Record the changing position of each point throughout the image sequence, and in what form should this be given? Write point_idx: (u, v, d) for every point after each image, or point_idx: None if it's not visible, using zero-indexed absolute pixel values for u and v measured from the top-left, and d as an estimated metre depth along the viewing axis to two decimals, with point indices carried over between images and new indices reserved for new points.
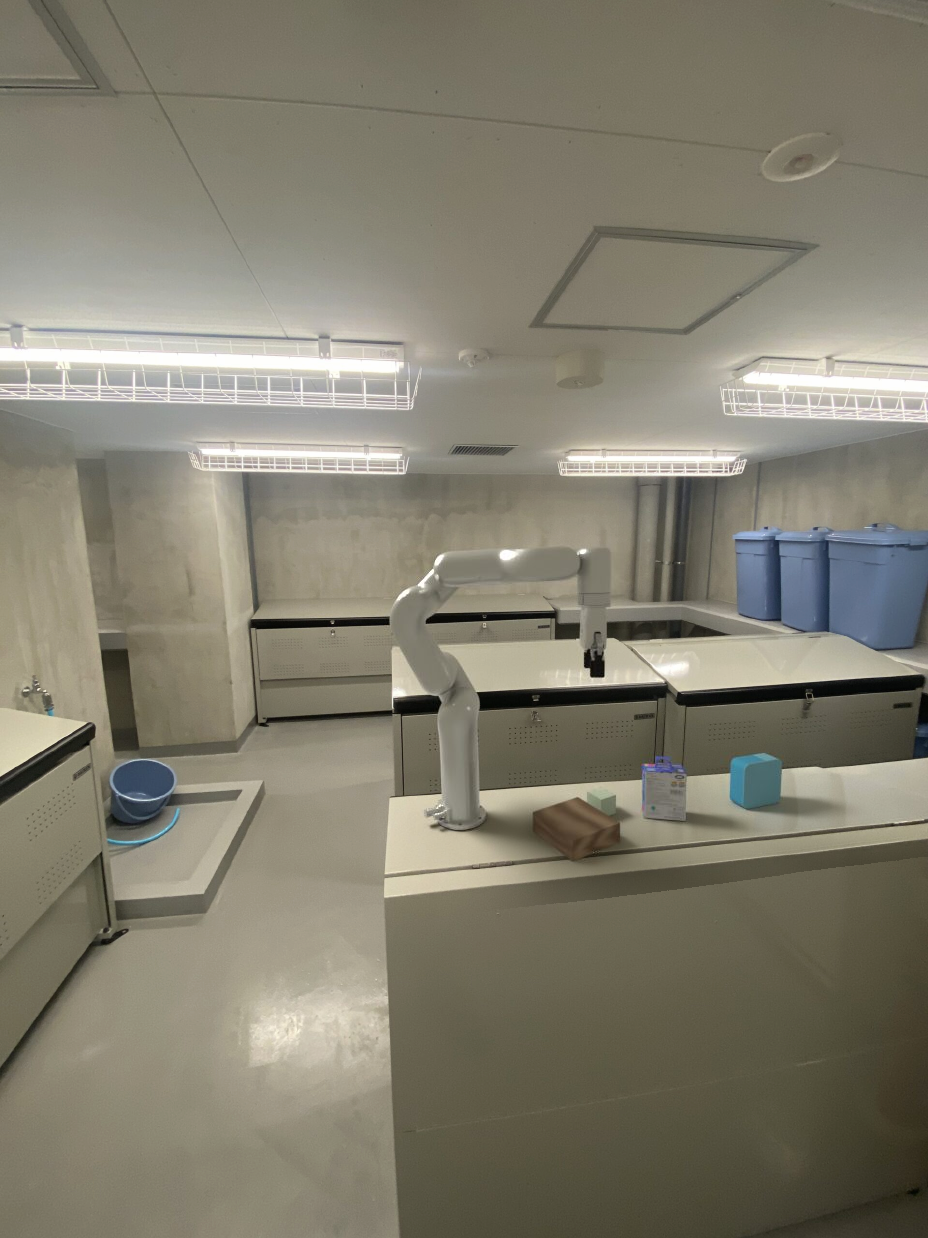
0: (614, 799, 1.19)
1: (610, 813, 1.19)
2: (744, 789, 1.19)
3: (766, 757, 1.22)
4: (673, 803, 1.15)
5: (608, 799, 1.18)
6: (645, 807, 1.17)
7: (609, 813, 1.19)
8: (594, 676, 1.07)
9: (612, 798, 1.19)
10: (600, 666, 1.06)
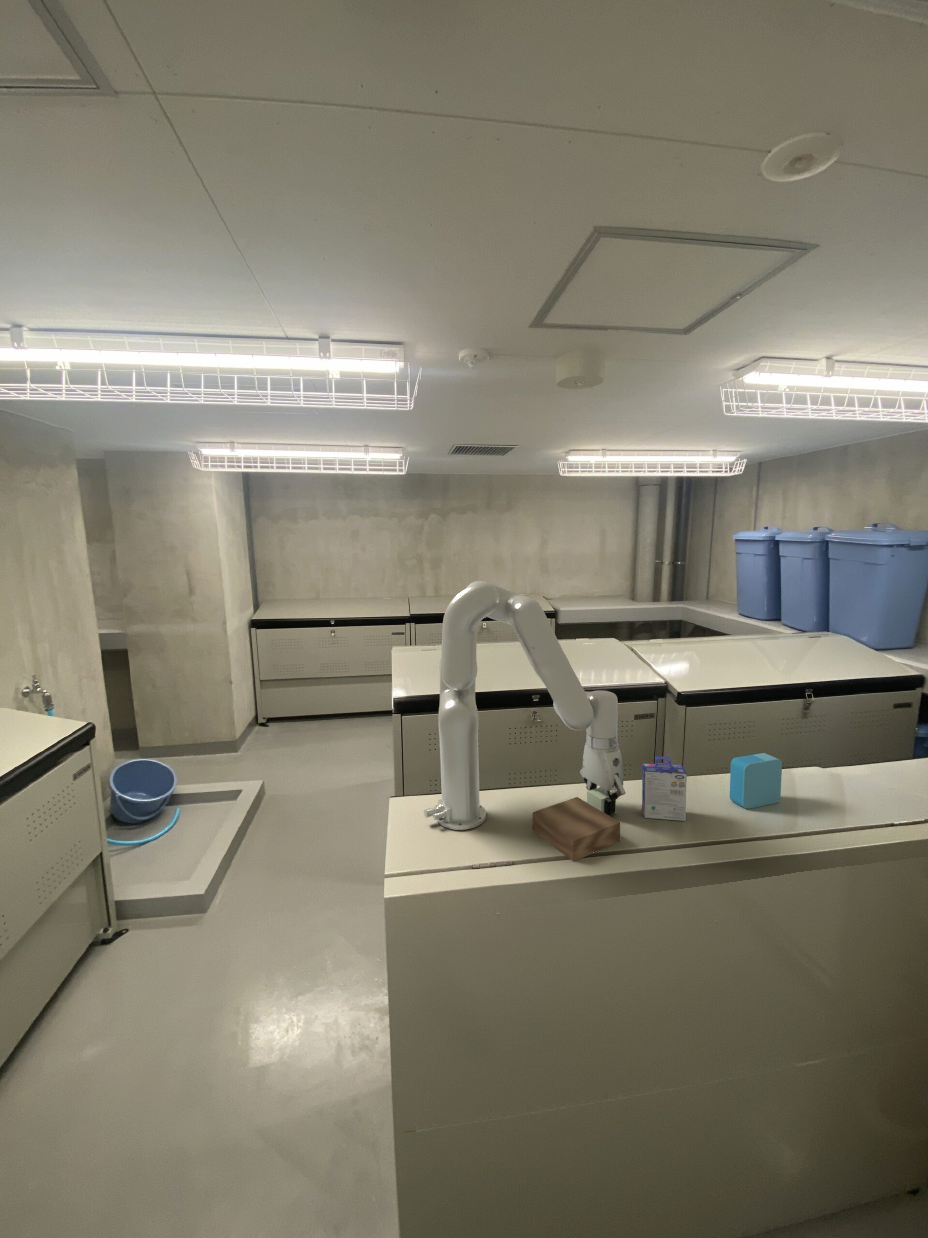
0: None
1: None
2: (744, 789, 1.19)
3: (766, 757, 1.22)
4: (673, 803, 1.15)
5: None
6: (645, 807, 1.17)
7: None
8: None
9: None
10: None
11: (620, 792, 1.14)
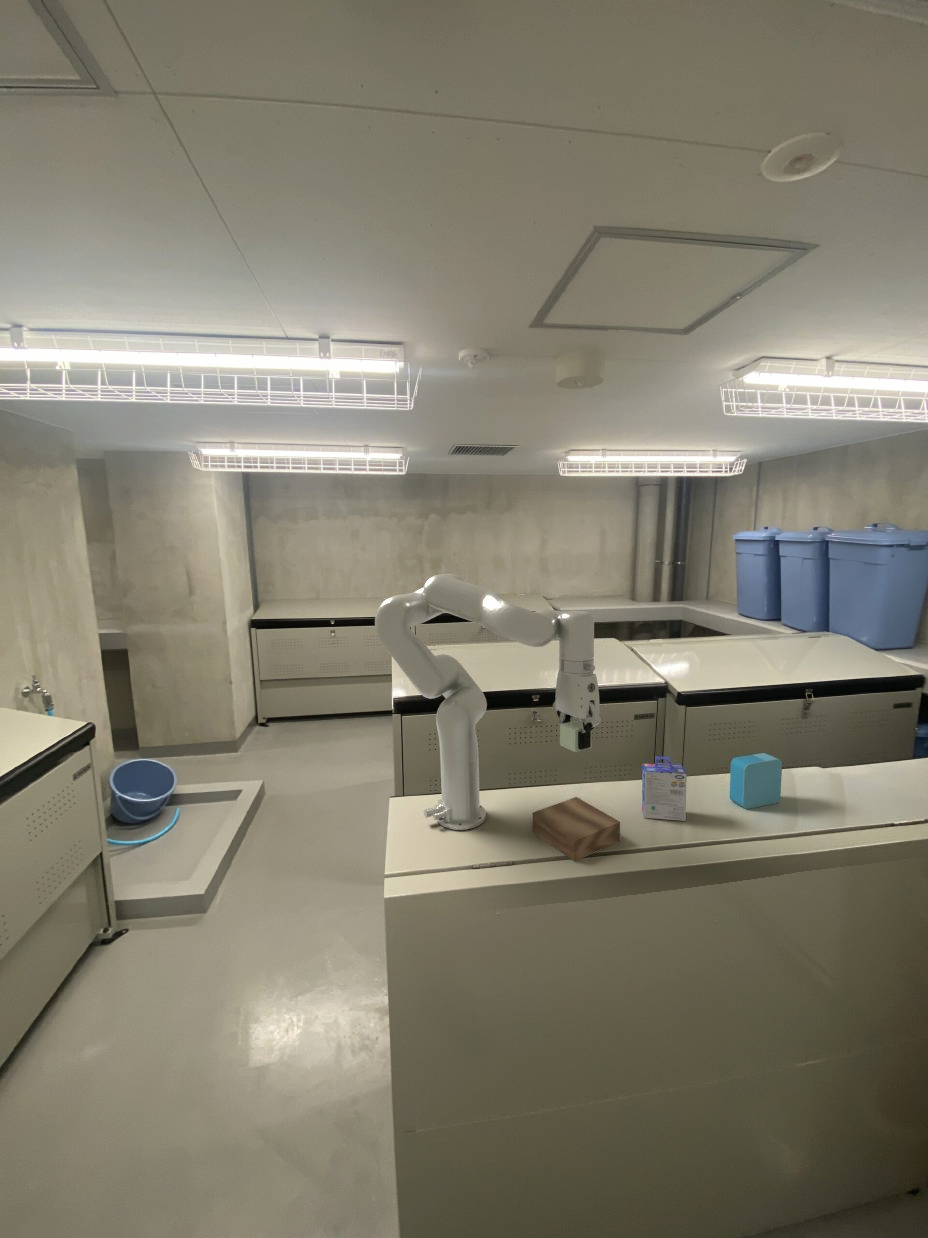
0: None
1: None
2: (744, 789, 1.19)
3: (766, 757, 1.22)
4: (673, 803, 1.15)
5: None
6: (645, 807, 1.17)
7: None
8: None
9: None
10: None
11: (595, 720, 1.01)
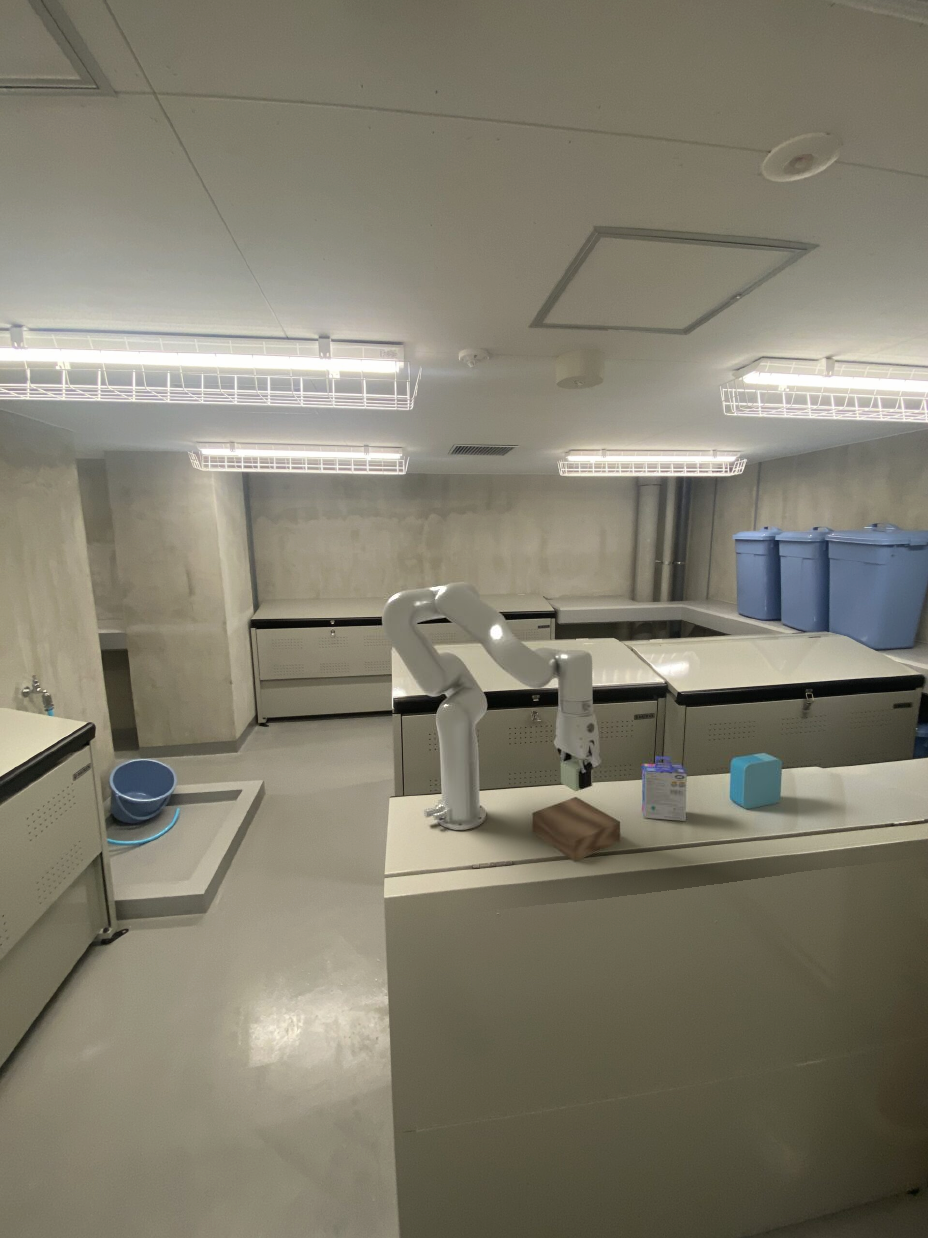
0: None
1: None
2: (744, 789, 1.19)
3: (766, 757, 1.22)
4: (673, 803, 1.15)
5: None
6: (645, 807, 1.17)
7: None
8: None
9: None
10: None
11: (595, 761, 1.02)
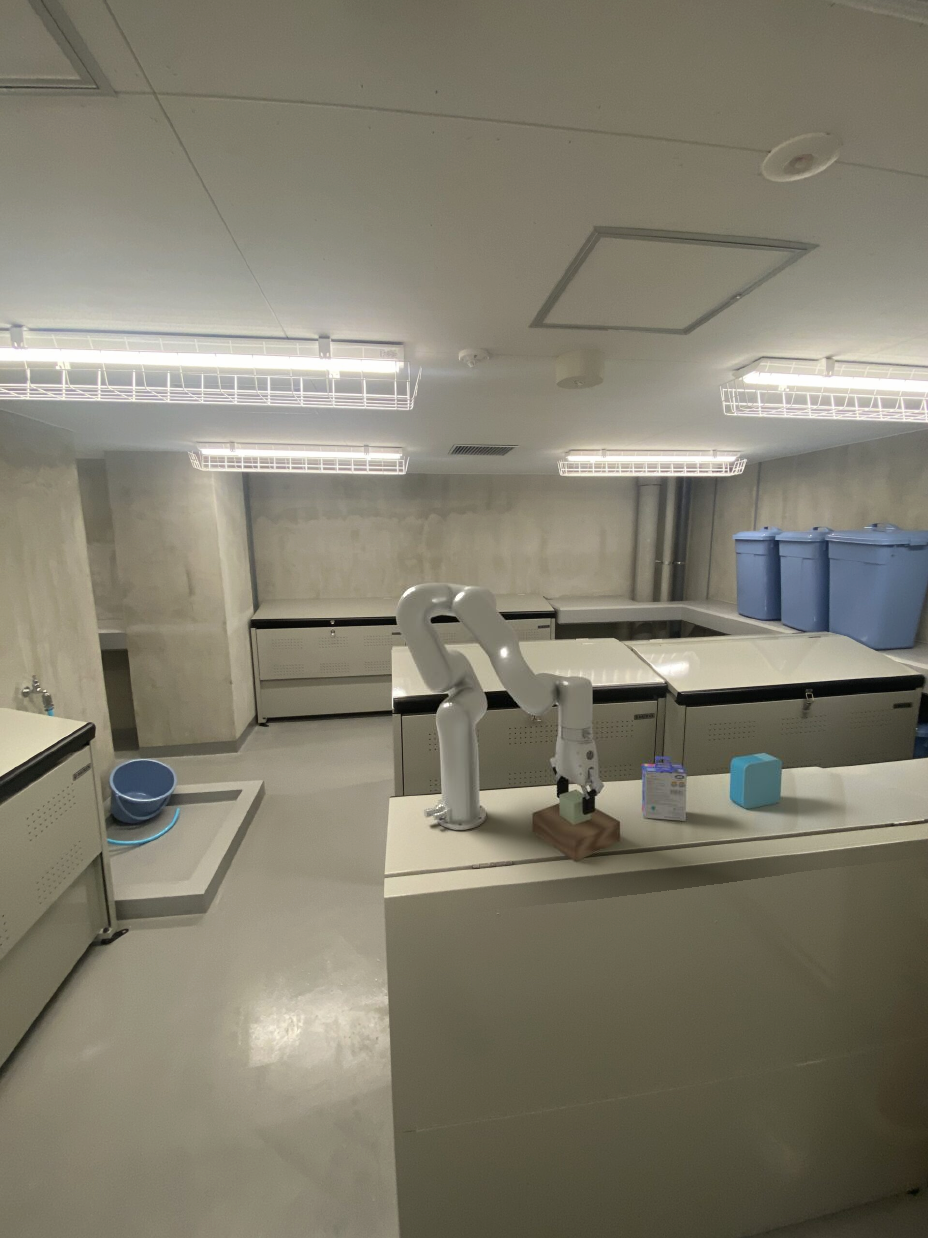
0: None
1: (584, 818, 1.08)
2: (744, 789, 1.19)
3: (766, 757, 1.22)
4: (673, 803, 1.15)
5: (581, 804, 1.07)
6: (645, 807, 1.17)
7: (583, 818, 1.08)
8: None
9: None
10: None
11: (597, 785, 1.01)
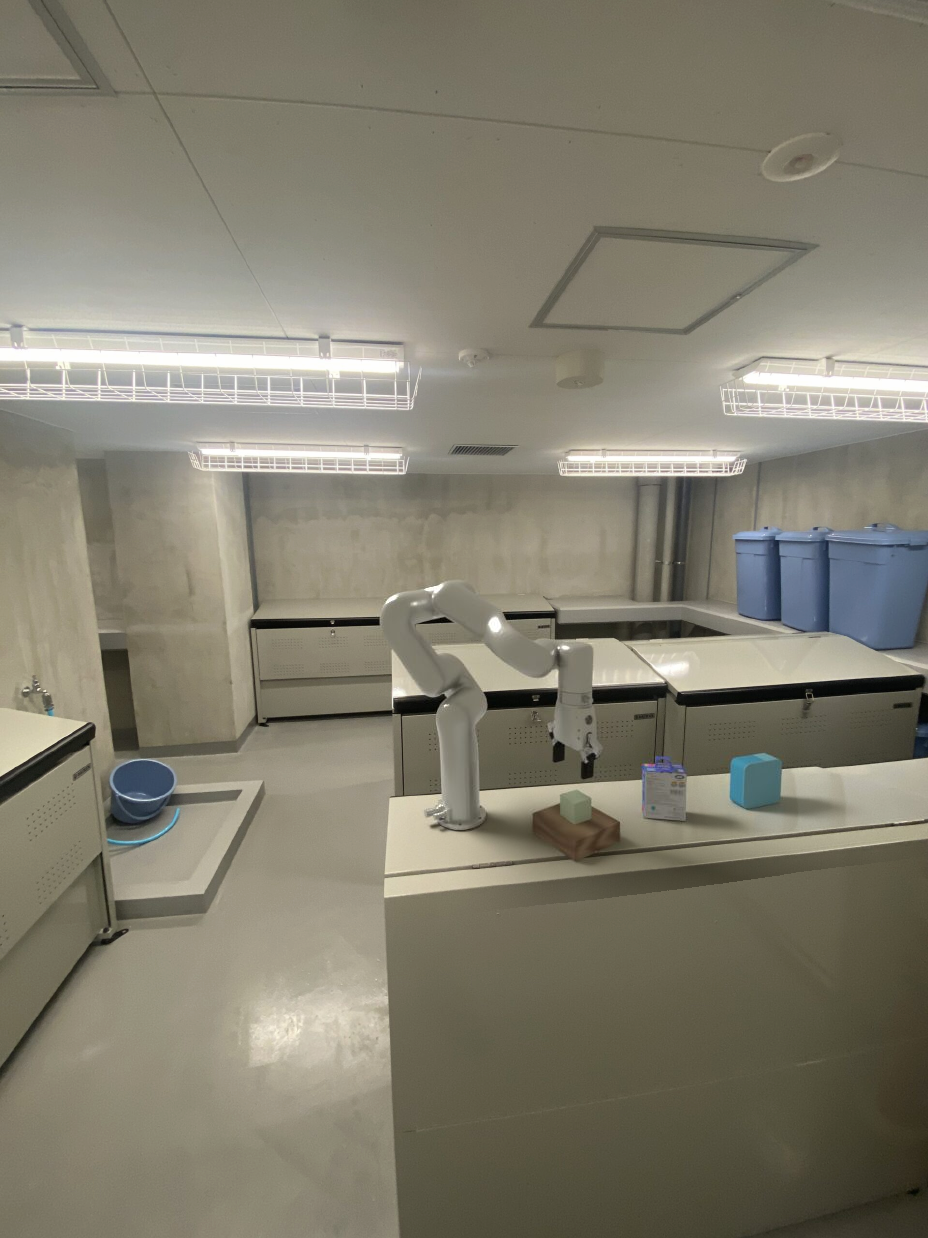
0: (589, 803, 1.08)
1: (585, 818, 1.08)
2: (744, 789, 1.19)
3: (766, 757, 1.22)
4: (673, 803, 1.15)
5: (582, 803, 1.07)
6: (645, 807, 1.17)
7: (584, 818, 1.08)
8: None
9: (586, 801, 1.08)
10: None
11: (596, 747, 1.00)
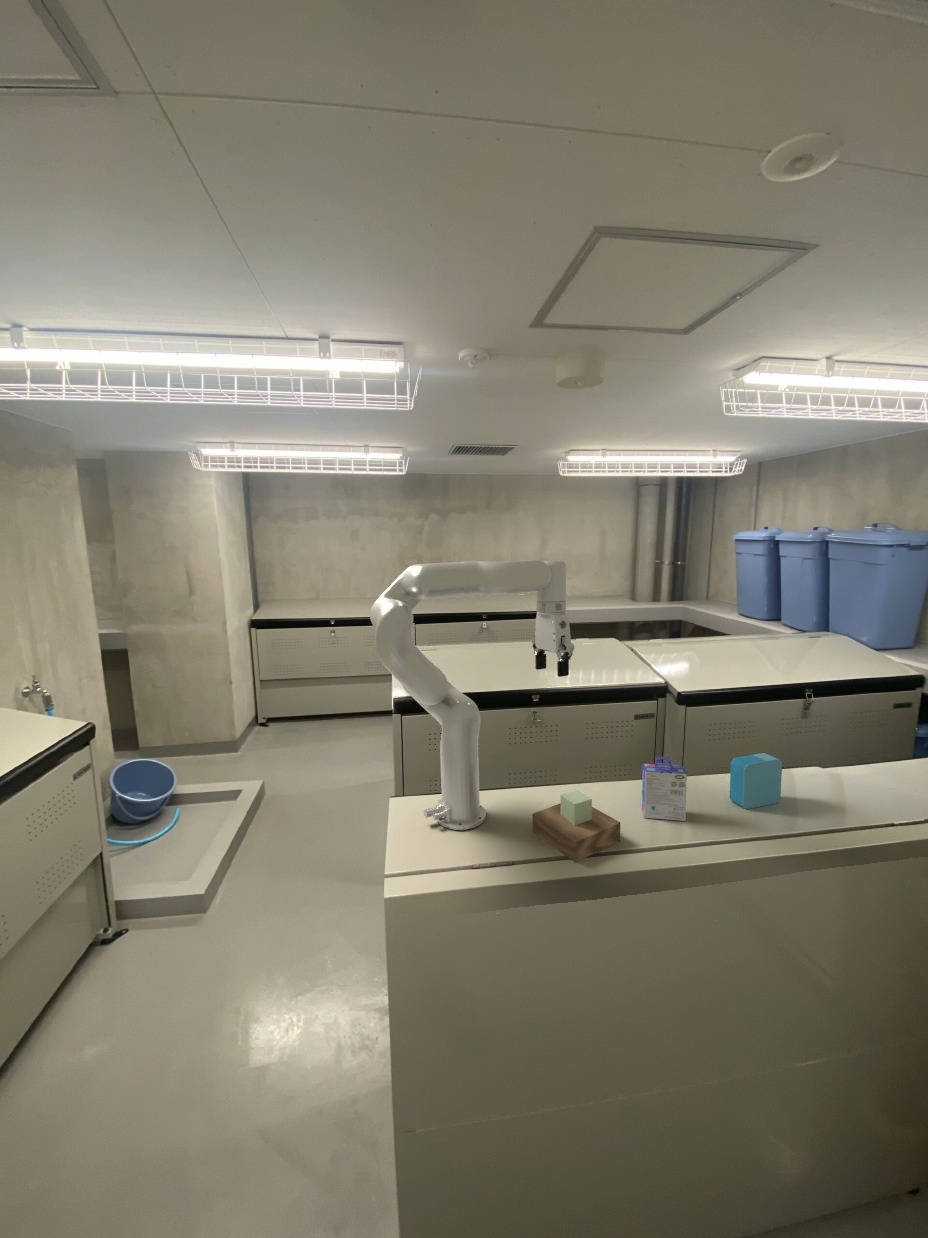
0: (590, 804, 1.08)
1: (585, 819, 1.08)
2: (744, 789, 1.19)
3: (766, 757, 1.22)
4: (673, 803, 1.15)
5: (582, 804, 1.07)
6: (645, 807, 1.17)
7: (584, 819, 1.08)
8: None
9: (587, 802, 1.08)
10: None
11: (569, 646, 1.17)
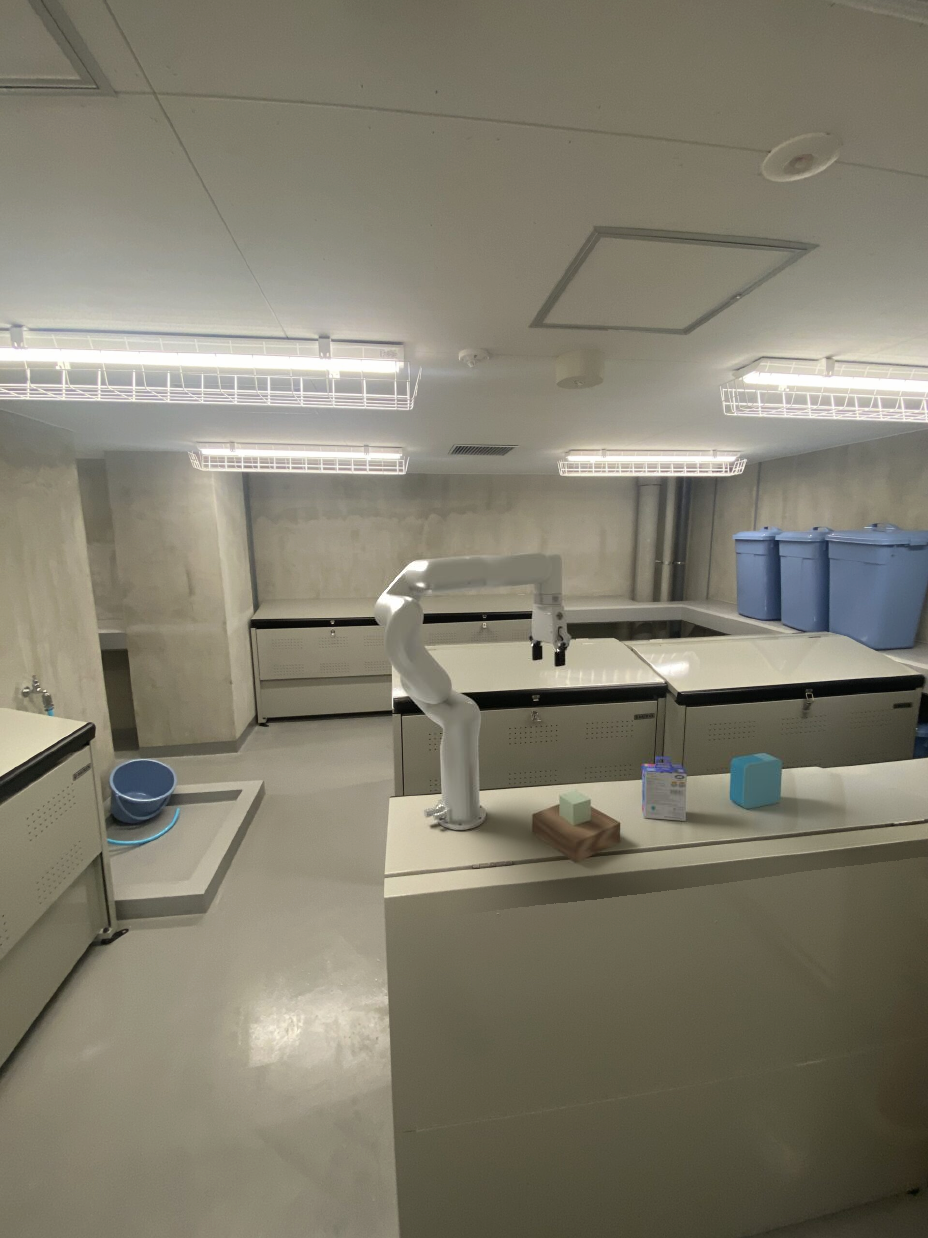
0: (588, 804, 1.08)
1: (584, 819, 1.08)
2: (744, 789, 1.19)
3: (766, 757, 1.22)
4: (673, 803, 1.15)
5: (581, 804, 1.07)
6: (645, 807, 1.17)
7: (583, 819, 1.08)
8: None
9: (586, 802, 1.07)
10: None
11: (566, 636, 1.21)
